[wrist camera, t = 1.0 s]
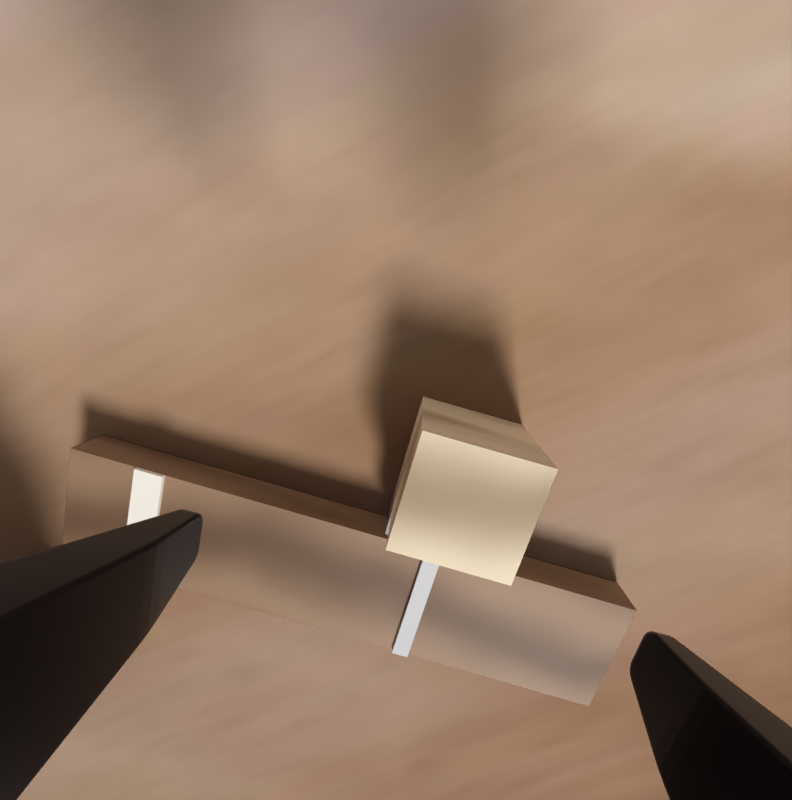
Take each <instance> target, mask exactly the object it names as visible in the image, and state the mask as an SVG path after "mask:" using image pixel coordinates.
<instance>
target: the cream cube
mask: <svg viewBox="0 0 792 800" xmlns="http://www.w3.org/2000/svg"><path fill="white" fill-rule="evenodd" d="M557 471H558V468H557V467H556V466H555V465H554V463H553V462H552V461H551V460H550V459H549V457H548V456H547V455H546V454H545V452H544V451H543V450H542V449H541V447H540V446H539V445H538V444H537V442H536V441H535V440H534V439H533V437H532V436H531V435H530V434H529V432H528V431H527V430H526V429H525V428H524V426H523V425H521V424H518V423H514V422H511V421H507V420H504V419H500V418H497V417H493V416H490V415H486V414H483V413H479V412H476V411H472V410H469V409H465V408H462V407H458V406H455V405H451V404H448V403H444V402H441V401H437V400H434V399H430V398H427V397H423V398H422V401H421V405H420V408H419V411H418V415H417V418H416V421H415V425H414V428H413V431H412V435H411V438H410V441H409V445H408V448H407V451H406V455H405V458H404V461H403V465H402V468H401V471H400V475H399V478H398V481H397V485H396V488H395V491H394V495H393V498H392V501H391V505H390V508H389V514H388V519H387V525H386V531H385V534H387V535H388V539H387V545H386V550H387V551H391V552H394V553H398V554H401V555H405V556H408V557H412V558H415V559H419V560H422V561H426V562H429V563H433V564H436V565H440V566H443V567H447V568H450V569H454V570H457V571H461V572H464V573H468V574H471V575H475V576H478V577H482V578H485V579H489V580H492V581H496V582H499V583H503V584H506V585H510V586H511V585H512V583H513V580H514V578H515V575H516V573H517V570H518V568H519V565H520V563H521V560H522V558H523V555H524V553H525V550H526V548H527V545H528V543H529V541H530V538H531V536H532V533H533V531H534V528H535V526H536V523H537V521H538V518H539V516H540V513H541V511H542V508H543V506H544V503H545V501H546V498H547V496H548V493H549V491H550V488H551V486H552V484H553V481H554V479H555V476H556V474H557Z"/></svg>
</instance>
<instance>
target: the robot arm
mask: <svg viewBox="0 0 792 800" xmlns="http://www.w3.org/2000/svg"><path fill="white" fill-rule="evenodd" d="M202 524H203V518H202V515H201V514H200V513H196V512H192V511H189V510H185V509H180V510H176V511H173V512H170V513H166V514H163V515H159V516H156V517H153V518H149V519H146V520H143V521H139V522H136V523H133V524H129V525H126V526H123V527H119V528H116V529H113V530H109V531H106V532H102V533H99V534H96V535H92V536H89V537H86V538H82V539H79V540H76V541H72V542H69V543H66V544H62V545H59V546H55V547H52V548H49V549H45V550H42V551H39V552H35V553H32V554H29V555H25V556H22V557H19V558H15V559H12V560H8V561H5V562H2V563H0V800H17V798H18V797H19V796H20V795H21V793H22V792H23V791H24V789H25V788H26V787H27V786H28V784H29V783H30V782H31V781H32V779H33V778H34V777H35V776H36V774H37V773H38V772H39V771H40V769H41V768H42V767H43V766H44V764H45V763H46V762H47V760H48V759H49V758H50V757H51V755H52V754H53V753H54V752H55V750H56V749H57V748H58V747H59V745H60V744H61V743H62V742H63V740H64V739H65V738H66V736H67V735H68V734H69V733H70V731H71V730H72V729H73V728H74V726H75V725H76V724H77V723H78V721H79V720H80V719H81V718H82V716H83V715H84V714H85V713H86V711H87V710H88V709H89V707H90V706H91V705H92V704H93V702H94V701H95V700H96V699H97V697H98V696H99V695H100V694H101V692H102V691H103V690H104V689H105V687H106V686H107V685H108V683H109V682H110V681H111V680H112V678H113V677H114V676H115V675H116V673H117V672H118V671H119V670H120V668H121V667H122V666H123V665H124V663H125V662H126V661H127V659H128V658H129V657H130V656H131V654H132V653H133V652H134V651H135V649H136V648H137V647H138V646H139V644H140V643H141V642H142V640H143V639H144V638H145V636H146V635H147V634H148V632H149V631H150V629H151V628H152V626H153V625H154V623H155V622H156V620H157V619H158V617H159V616H160V614H161V613H162V611H163V610H164V608H165V606H166V605H167V603H168V602H169V600H170V599H171V597H172V596H173V594H174V592H175V591H176V589H177V588H178V586H179V585H180V583H181V582H182V580H183V579H184V577H185V575H186V574H187V572H188V571H189V569H190V568H191V566H192V565H193V563H194V561H195V559H196V557H197V555H198V551H199V545H200V538H201V531H202ZM630 675H631V680H632V683H633V687H634V690H635V693H636V697H637V700H638V703H639V707H640V710H641V714H642V717H643V720H644V724H645V727H646V730H647V734H648V737H649V740H650V744H651V747H652V750H653V754H654V757H655V760H656V763H657V766H658V769H659V772H660V775H661V778H662V780H663V783H664V786H665V788H666V791H667V794H668V796H669V799H670V800H792V727H790V726H789V725H788V724H786V723H785V722H784V721H782V720H781V719H780V718H779V717H777V716H776V715H775V714H773V713H772V712H771V711H769V710H768V709H767V708H765V707H764V706H763V705H761V704H760V703H759V702H757V701H756V700H755V699H754V698H752V697H751V696H750V695H748V694H747V693H746V692H744V691H743V690H742V689H740V688H739V687H738V686H736V685H735V684H734V683H732V682H731V681H730V680H729V679H727V678H726V677H725V676H723V675H722V674H721V673H719V672H718V671H717V670H715V669H714V668H713V667H711V666H710V665H709V664H707V663H706V662H705V661H704V660H702V659H701V658H700V657H698V656H697V655H696V654H694V653H693V652H692V651H690V650H689V649H688V648H686V647H685V646H684V645H682V644H681V643H680V642H679V641H677V640H676V639H674V638H673V637H671V636H669V635H665V634H661V633H657V632H653V631H651V632H647V633H646V634H645V635H644V637H643V639H642V641H641V643H640V645H639V647H638V649H637V651H636V653H635V655H634V658H633V660H632V662H631V666H630Z"/></svg>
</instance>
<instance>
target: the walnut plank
mask: <svg viewBox="0 0 792 800" xmlns="http://www.w3.org/2000/svg"><path fill="white" fill-rule="evenodd" d="M180 509H185V510H189V511H192V512H196V513H200V514H201V515H202V518H203V524H202V531H201V538H200V545H199V551H198V555H197V557H196V559H195V561H194V563H193V565H192V566H191V568H190V569H189V571H188V572H187V574H186V575H185V577H184V579H183V580H182V582H181V583H180V585H179V586H178V588H180V589H184V590H187V591H191V592H194V593H198V594H201V595H204V596H208V597H211V598H215V599H218V600H222V601H225V602H229V603H232V604H236V605H239V606H243V607H246V608H250V609H253V610H257V611H260V612H263V613H267V614H270V615H274V616H277V617H281V618H284V619H288V620H291V621H295V622H298V623H302V624H305V625H309V626H312V627H316V628H319V629H323V630H326V631H329V632H333V633H336V634H340V635H343V636H347V637H350V638H354V639H357V640H361V641H364V642H368V643H371V644H375V645H378V646H382V647H385V648H389V649H392V653H394V654H398V655H401V656H405V657H407V656H408V654H409V655H413V656H416V657H420V658H423V659H427V660H430V661H434V662H437V663H441V664H444V665H448V666H451V667H455V668H458V669H461V670H465V671H468V672H472V673H475V674H479V675H482V676H486V677H489V678H493V679H496V680H500V681H503V682H507V683H510V684H514V685H517V686H520V687H524V688H527V689H531V690H534V691H538V692H541V693H545V694H548V695H552V696H555V697H559V698H562V699H566V700H569V701H573V702H576V703H580V704H583V705H586V706H589V705H590V703H591V701H592V699H593V697H594V695H595V693H596V691H597V689H598V687H599V685H600V683H601V681H602V679H603V677H604V675H605V673H606V671H607V669H608V667H609V665H610V663H611V661H612V659H613V657H614V655H615V653H616V651H617V649H618V647H619V645H620V643H621V641H622V639H623V637H624V635H625V633H626V631H627V629H628V627H629V625H630V623H631V621H632V619H633V617H634V615H635V613H636V611H637V610H636V609H635V608H634V606H633V605H632V603H631V602H630V600H629V599H628V597H627V596H626V595H625V593H624V592H623V590H622V589H621V587H620V586H619V584H618V583H617V582H613V581H610V580H606V579H603V578H599V577H596V576H592V575H589V574H585V573H582V572H578V571H575V570H571V569H568V568H564V567H561V566H557V565H554V564H551V563H547V562H544V561H540V560H537V559H533V558H530V557H526V556H523V558H522V560H521V563H520V565H519V568H518V570H517V573H516V575H515V578H514V580H513V583H512V585H511V586H510V585H506V584H503V583H499V582H496V581H492V580H489V579H485V578H482V577H478V576H475V575H471V574H468V573H464V572H461V571H457V570H454V569H450V568H447V567H443V566H440V565H436V564H433V563H429V562H426V561H422V560H419V559H415V558H412V557H408V556H405V555H401V554H398V553H394V552H391V551H387V550H386V545H387V539H388V535H387V534H385V531H386V525H387V519H388V517H387V516H383V515H380V514H376V513H373V512H369V511H366V510H362V509H359V508H355V507H352V506H348V505H345V504H341V503H338V502H334V501H331V500H327V499H324V498H320V497H317V496H313V495H310V494H306V493H303V492H299V491H296V490H292V489H289V488H285V487H282V486H278V485H275V484H271V483H268V482H264V481H261V480H257V479H254V478H250V477H247V476H244V475H240V474H237V473H233V472H230V471H226V470H223V469H219V468H216V467H212V466H209V465H205V464H202V463H198V462H195V461H191V460H188V459H184V458H181V457H177V456H174V455H170V454H167V453H163V452H160V451H156V450H153V449H149V448H146V447H142V446H139V445H135V444H132V443H128V442H125V441H121V440H118V439H114V438H111V437H107V436H104V435H102V436H99V437H97V438H94V439H92V440H90V441H87V442H85V443H82V444H80V445H77V446H75V447H72V448H70V460H69V473H68V485H67V497H66V509H65V521H64V533H63V544H66V543H69V542H72V541H76V540H79V539H82V538H86V537H89V536H92V535H96V534H99V533H102V532H106V531H109V530H113V529H116V528H119V527H123V526H126V525H129V524H133V523H136V522H139V521H143V520H146V519H149V518H153V517H156V516H159V515H163V514H166V513H170V512H173V511H176V510H180Z"/></svg>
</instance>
